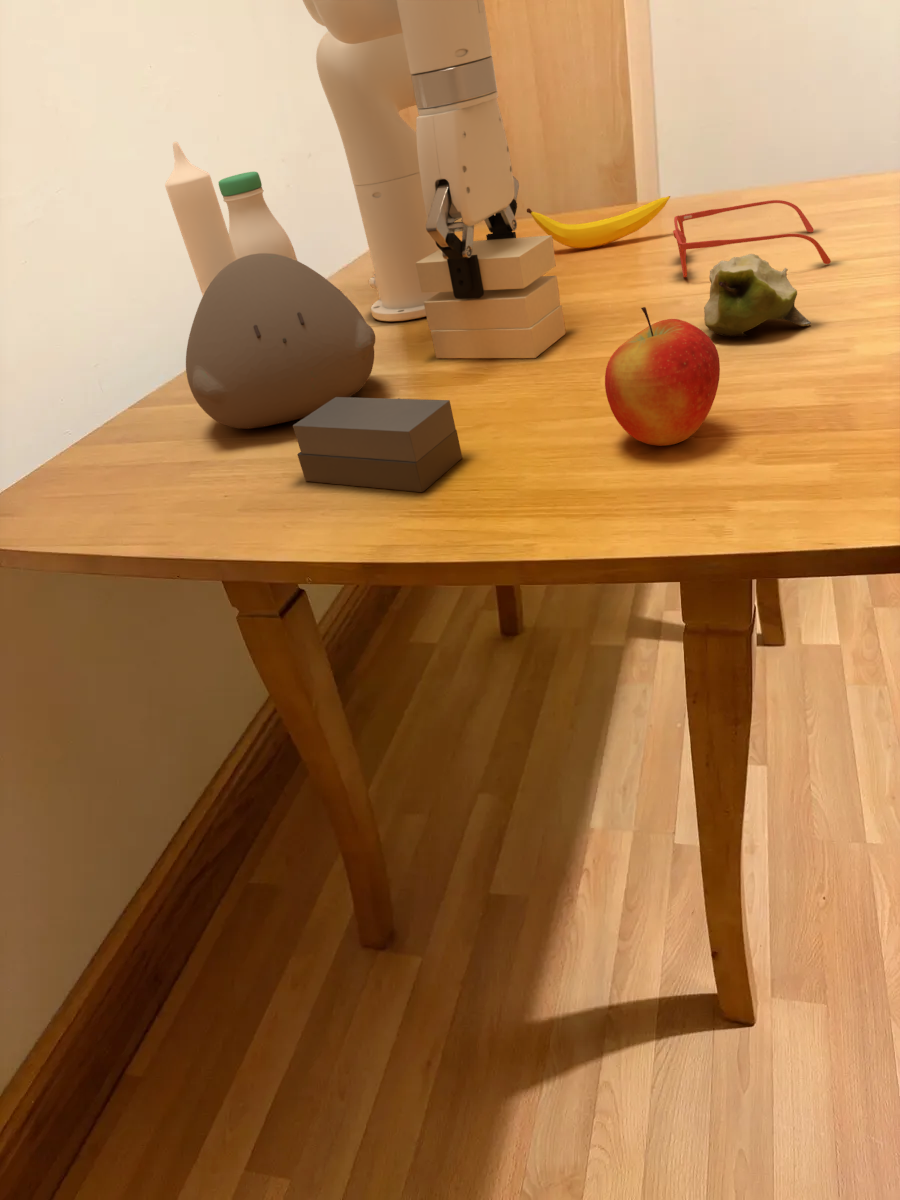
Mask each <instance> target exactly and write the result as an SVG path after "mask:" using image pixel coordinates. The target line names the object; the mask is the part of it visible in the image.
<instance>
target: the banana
mask: <svg viewBox="0 0 900 1200" xmlns="http://www.w3.org/2000/svg"><path fill="white" fill-rule="evenodd" d="M670 198H671V195H668V196H665V197H660V198H657V199H655V200H653V201H650V202H648V203H646V204H643V205H641V206H639V207H637V208H634V209H631V210H629V211H626V212H624V213H621V214H618V215H614V216H612V217H607V218H605V219H604V218H603V219H600V220H595V221H589V222H583V223H573V224H572V223H571V224H570V223H562V222H560V221H557V220H555V219H552V217H551V218H550V217H548V216H547V215H545V214H542V213H540V212H536V211H532V209H531V208H527V209H526V212H527V213H528V214H530V215H531V217H532V218H533V220H534V221H535V223H536V224H537V226H539V228H540V229H541V230H542V231H543V232H544V233H545V234H546V235H547V236H549V235H552V239H553V241H556V242H558V243H559V244H561V245H563V246H566V247H568V248H572V249H581V250H582V249H592V248H598V247H601V246H605V245H608V244H611V243H614V242H616V241H618V240H620V239H623V238H625V237H627V236H629V235H631V234H633V233H636V232H638V231H639V230H641V229H642V228H644V227H645V226H647V225H648V224H649V223H650V222H651V221H652V220H653V219H655V218H656V216H657V215H659V213H660V212H661V211H662V210H663V209H664V208H665V207H666V205H667V203H668V201H669V200H670Z"/></svg>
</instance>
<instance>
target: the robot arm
mask: <svg viewBox="0 0 900 1200" xmlns="http://www.w3.org/2000/svg"><path fill="white" fill-rule="evenodd" d="M302 2H303V4H304V7H305V9H306V11H307V12H308V13H309V15H310V16H311V19H313V20H314V21H315V22H316V23H317V24H319V25H321V26H322V27H325V28H326V29H327V31H326V32H325V34H323V36H322V37H321V39H320V40H319V42H318V45H317V47H316V55H315V63H316V69H317V73H318V77H319V81H320V84H321V86H322V89H323V92H324V94H325V97H326V100H327V102H328V104H329V107H330V111H331V114H332V115H333V118H334V121H335V123H336V126H337V129H338V132H339V135H340V138H341V142H342V145H343V149H344V153H345V157H346V160H347V163H348V167H349V172H350V176H351V180H352V185H353V187H354V192H355V196H356V200H357V205H358V208H359V212H360V218H361V221H362V225H363V230H364V233H365V238H366V243H367V246H368V250H369V254H370V258H371V263H372V267H373V270H374V273H373V276H372V277H370V278H369V280H368V285H369V287H370V288H372V289H376V290H377V294H378V298H379V299H378V300H376V301H375V302H373V304H372V305H371V307H370V312H371V315H372V317H373V319H375V320H377V321H382V322H403V321H409V320H415V319H421V318H425V317H427V316H426V312H425V307H424V302H425V301H426V300H428V299H430V298H431V297H433V296H434V295H436V294H438V293H439V292H423V293H422V292H421V287H420V282H419V278H418V273H417V268H416V262H418V261H420V260H421V259H423V258H425V257H427V256H429V255H430V254H432V253H434V252H436V251H437V250H439V249H440V250H441V251H442V255H443V258H444V259H447V262H448V267H449V272H450V277H451V283H452V288H453V293H454V297H455V298H456V299H471V298H480V297H482V296H483V295H484V291H483V285H482V280H481V274H480V268H479V262H478V257H477V255H472V252H473V241H474V237H475V236H474V235H475V225H477V224H479V223H481V222H483V221H484V222H485V225H486V227H487V229H488V231H489V232H490V233H487V234H486V236H485V237H486V240H495V239H508V238H517V233H516V231H517V229H518V222H517V219H516V215H517V210H518V203H517V200H518V194H519V188H520V182H519V180H518V179H517V178H516V177H515V176H514V172H513V166H512V158H511V155H510V149H509V143H508V140H507V138H508V137H507V133H506V129H505V125H504V120H503V117H502V113H501V109H500V106H499V101H498V99H499V93H498V85H497V79H496V72H495V65H494V59H493V58H494V57H493V53H492V52H493V51H492V45H491V39H490V32H489V26H488V25H489V24H488V18H487V12H486V5H485V0H302ZM415 106H416V108H417V114H418V116H416V117H415V119H416V121H415V123H416V124H415V127H416V129H413V128H412V126H410V125H409V124H408V123H407V122H406V121H405V119H403V117H402V116H401V115H400V114H399V112H400V111H402V110H406V109H408V108H411V107H415ZM460 219H461V220H460ZM459 220H460V221H459ZM457 232H462V235H461V239H460V238H459V237H458V235H456V233H457Z"/></svg>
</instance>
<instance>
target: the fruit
mask: <svg viewBox="0 0 900 1200" xmlns="http://www.w3.org/2000/svg"><path fill="white" fill-rule="evenodd" d="M787 271H788V268H786V267H785V268H783V270H777V269H775V268H773V267H772V266H771V265H770V264H769V262H768V261H767V260H766V259H762V258H761V257H760V256H759V255H757V254H754V253H749V254H746V255H741V256H734V257H731V258H730V259H729V260H720V261H719V262H718V263H716V264H715V265H714V266H713V267H712V268H711V269H710V270H709V276H708V278H709V281H710V287H709V299H708V300H707V302H706V303H705V305H704V307H703V310H704V311H703V312H704V314H703V315H704V316H703V317H704V320H703V321H704V325H705V327H706V328H707V329H709V330H710V331H711V332H713V333H715V334H717V335H719V336H724V337H733V338H734V337H749V335H748V334H746V333H745V332H748V331H749V330H751V329H754V328H756V327H757V326H759V325H760V324H762V323H764V322H765V321H767V320H785V321H788V322H790V323H792V324H795V325H797V326H799V327H806V326H810V325H811V324H812V323H811V321H810V320H809V319H808V318H806V317H805V316H804V315H803V314H802V313H801V312H800V311H799V310H798V308H797V307H796V306H795V304H796V303H795V302H796V299H797V295H798V290H797V289H796V288H795V287H793V285H792V284H791V282H790V280H789V278H788V276H787Z"/></svg>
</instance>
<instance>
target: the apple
mask: <svg viewBox="0 0 900 1200" xmlns="http://www.w3.org/2000/svg"><path fill="white" fill-rule="evenodd" d="M640 308H641V311H642V312H643V314H644V316H645V318H646V321H647V323H648V326H647V327H645V328H643V329H642V330H641V331H639V332H637V333H636V334H634V335H633V336H631V337H630V338H628V339H627V340H626V341H624V342H623V343H622V344H621V345H619V346H618V348H617V349H615V351H614V352H613V353H612V355H611V356H610V357H609V360H608V361H607V365H606V368H605V374H604V388H605V389H604V390H605V394H606V398H607V402H608V405H609V408H610V411H611V413H612V415H613V416H614V418H615V420H616V421H617V423H618V424H619V425H620V426H621V428H622V429H623V431H625V432H626V433H627V434H628V435H630V436H631V438H634V439H635V440H637V441H639V442H641V443H643V444H646V445H650V446H658V447H659V446H660V447H664V446H671V445H675V444H678V443H681V442H683V441H685V440H687V439H689V438H690V437H691V436H693V435H694V434H695V433H696V432H697V431H698V430H699V429H700V428H701V426H702V425H703V423H704V422H705V421H706V419H707V418H708V415H709V413H710V411H711V409H712V407H713V405H714V401H715V399H716V395H717V392H718V389H719V382H720V374H721V364H720V356H719V352H718V349H717V347H716V345H715V343H714V342H713V340H712V339H711V338H710V336H709V335H708V334H707V333H705V332H704V331H703V330H702V329H701V328H700V327H697V326H696V325H694V324H692V323H690V322H688V321H686V320H682V319H678V318H668V319H663V320H659V321H656V322H654V323H652V324H651V321H650V317H649V314H648V311H647V310H648V309H647V308H646V306H643V307H640Z"/></svg>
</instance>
